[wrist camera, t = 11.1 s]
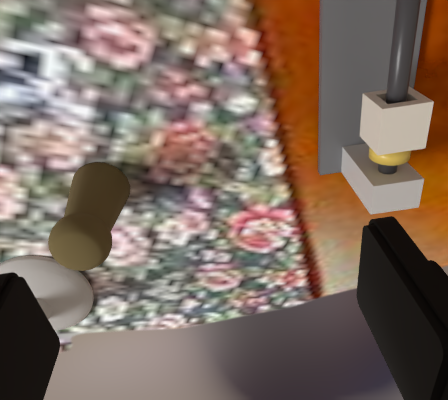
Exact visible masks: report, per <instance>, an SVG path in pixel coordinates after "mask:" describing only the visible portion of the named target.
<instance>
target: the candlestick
mask: <svg viewBox="0 0 448 400" xmlns="http://www.w3.org/2000/svg"><path fill="white" fill-rule="evenodd" d="M11 272H14V273H16V274H17V275H18V276H19V277H23V278H24V279H25V280H26V282H27V284H28V285H29V287H30V289H31V291H32V292H33V294H34V296H35V297H36V299H37V301H38V303H39V304H40V306H41V308H42V310H43V311H44V313H45V315H46V317H47V318H48V320H49V322H50V323H51V325H52V327H53V329H54V330H61V329H65V328H68V327H71V326H73V325H76V324H77V323H79V322H81V321H82V320H83V319H84V318H85V317H86V316H87V315H88V314H89V312H90V310H91V308H92V305H93V300H94V294H93V290H92V287H91V285H90V283H89V282H88V280H87V279H86V278H85V276H84V275H83V274H82V273H80V272H79V271H78V270H72V269H68V268H66V267H64V266H62V265H60V264H59V263H58V262H57V261H56V260H55V259H53V258H49V257H43V256H20V257H15V258H12V259H9V260H6V261H4V262H2V263H1V264H0V274H4V273H11Z"/></svg>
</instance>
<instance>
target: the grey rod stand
mask: <svg viewBox="0 0 448 400" xmlns="http://www.w3.org/2000/svg"><path fill="white" fill-rule="evenodd" d="M426 3H427V0H320V45H319V135H318V172H319V174H320V175H324V174H331V173H337V172H342V174H343V175H344V177H345V178H346V180H347V181H348V182H349V184H350V185H351V187H352V188H353V190H354V191H355V193H356V194H357V195H358V197H359V198H360V200H361V201H362V203H363V204H364V206H365V207H366V209H367V210H368V211H369V213H370V214H377V213H384V212H391V211H397V210H404V209H411V208H418V207H419V203H420V198H421V193H422V188H423V182H424V178H423V177H422V176H421V175H420V174H419V173H417V172H416V171H415V170H414V169H413V168H412V167H411V166H410V165H409V164H408V163H407V162H408V161H409V159H410V155H411V151H404V152H397V153H391V154H384V155H377V154H376V153H375V152H374V151H373V150H372V149H371V148H370V147H369V146H368V145H367V144H366V142H365V141H364V140H363V139H362V138H361V137H360V123H361V110H362V97H363V93H368V92H374V91H381V90H387V91H386V100H385V102H386V103H387V104H393V103H400V102H407V95H408V88H409V87H411V88H413V89H414V84H415V77H416V70H417V64H418V57H419V50H420V43H421V37H422V30H423V23H424V17H425V10H426Z"/></svg>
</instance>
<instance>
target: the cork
mask: <svg viewBox="0 0 448 400" xmlns="http://www.w3.org/2000/svg"><path fill="white" fill-rule="evenodd" d="M129 194H130V185H129V182H128V179H127V177H126V176H125V175H124V174H123V172H122V171H120V170H119V169H117V168H116V167H115V166H112V165H109V164H107V163H99V162H95V163H89V164H86V165H84V166H82V167H81V168H79V169H78V171H77V172H76V173H75V174H74V177H73V180H72V184H71V189H70V193H69V197H68V202H67V206H66V210H65V215H64V217H63V218H62V219H60V220H59V221H58V222H57V223H56V225H55V226H54V227H53V228H52V230H51V233H50V236H49V241H48V244H49V250H50V252H51V254H52V256H53V258H54V259H55V260H56V261H57V262H58V263H59V264H60V265H62V266H64V267H66V268H68V269H72V270H78V271H85V270H90V269H93V268H95V267H97V266H99V265H100V264H102V263H103V262H104V261H105V260H106V258H107V257H108V255H109V253H110V251H111V247H112V235H111V230H112V228H113V226H114V224H115V222H116V220H117V218H118V216H119V214H120V213H121V211H122V209H123V207H124V205H125V203H126V201H127V199H128V197H129Z"/></svg>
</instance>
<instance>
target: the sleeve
mask: <svg viewBox="0 0 448 400" xmlns="http://www.w3.org/2000/svg"><path fill="white" fill-rule="evenodd" d="M386 91H387V90H381V91H374V92H368V93H363V97H362V110H361V123H360V137H361V138H362V139H363V140H364V141H365V142H366V144H367V145H368V146H369V147H370V148H371V149H372V150H373V151H374V152H375V153H376V154H377V155H384V154H391V153H397V152H404V151H411V150H418V149H424V148H426V142H427V137H428V131H429V126H430V120H431V115H432V109H433V104H434V101H432V100H430V99H429V98H427V97H426V96H424V95H422V94H421V93H419V92H417V91H416V90H414V89H413V88H411V87H409V88H408V95H407V102H400V103H393V104H387V103H386V102H385V100H386Z"/></svg>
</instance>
